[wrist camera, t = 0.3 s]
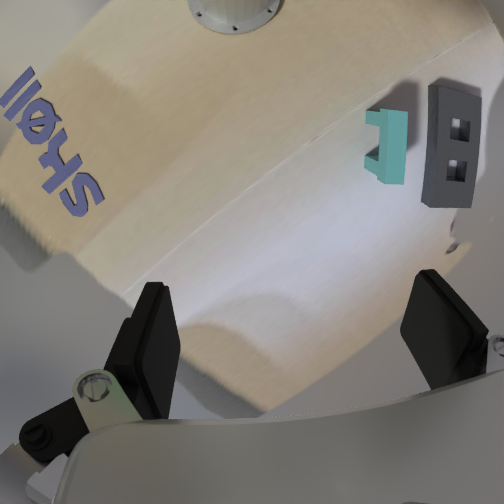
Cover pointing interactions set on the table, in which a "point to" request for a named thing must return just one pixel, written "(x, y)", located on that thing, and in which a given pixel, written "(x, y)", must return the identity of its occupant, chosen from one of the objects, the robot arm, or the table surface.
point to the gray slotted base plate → (451, 148)
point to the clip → (389, 145)
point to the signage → (52, 155)
